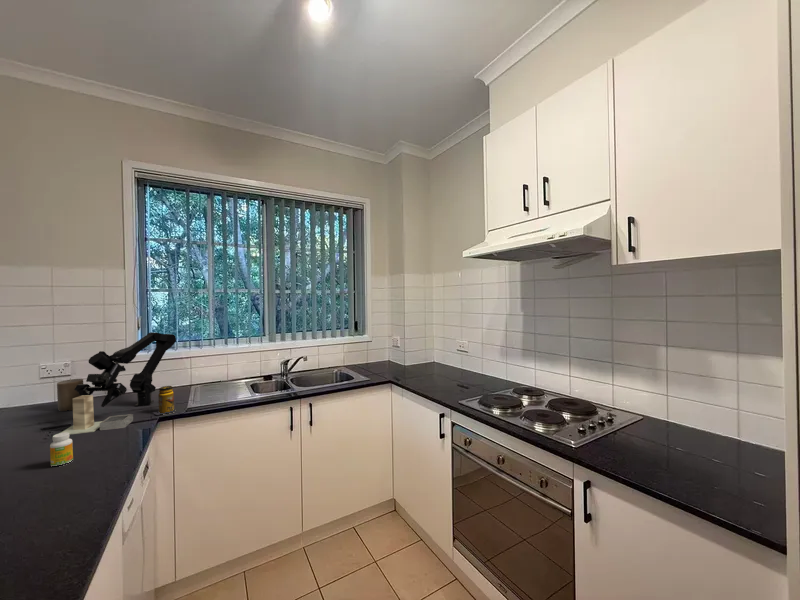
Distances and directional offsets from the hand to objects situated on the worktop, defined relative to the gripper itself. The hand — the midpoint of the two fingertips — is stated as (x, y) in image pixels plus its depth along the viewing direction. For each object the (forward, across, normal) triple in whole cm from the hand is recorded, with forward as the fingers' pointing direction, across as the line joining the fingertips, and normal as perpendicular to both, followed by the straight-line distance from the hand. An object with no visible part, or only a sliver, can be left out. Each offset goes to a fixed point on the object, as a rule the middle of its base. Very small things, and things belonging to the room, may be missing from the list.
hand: (90, 407), depth 149 cm
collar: (+7, +12, +4) cm, 14 cm away
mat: (+8, 0, +3) cm, 9 cm away
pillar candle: (-12, -29, +23) cm, 39 cm away
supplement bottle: (+30, +18, -19) cm, 40 cm away
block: (+8, 0, +3) cm, 8 cm away
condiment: (-4, +22, +15) cm, 27 cm away
